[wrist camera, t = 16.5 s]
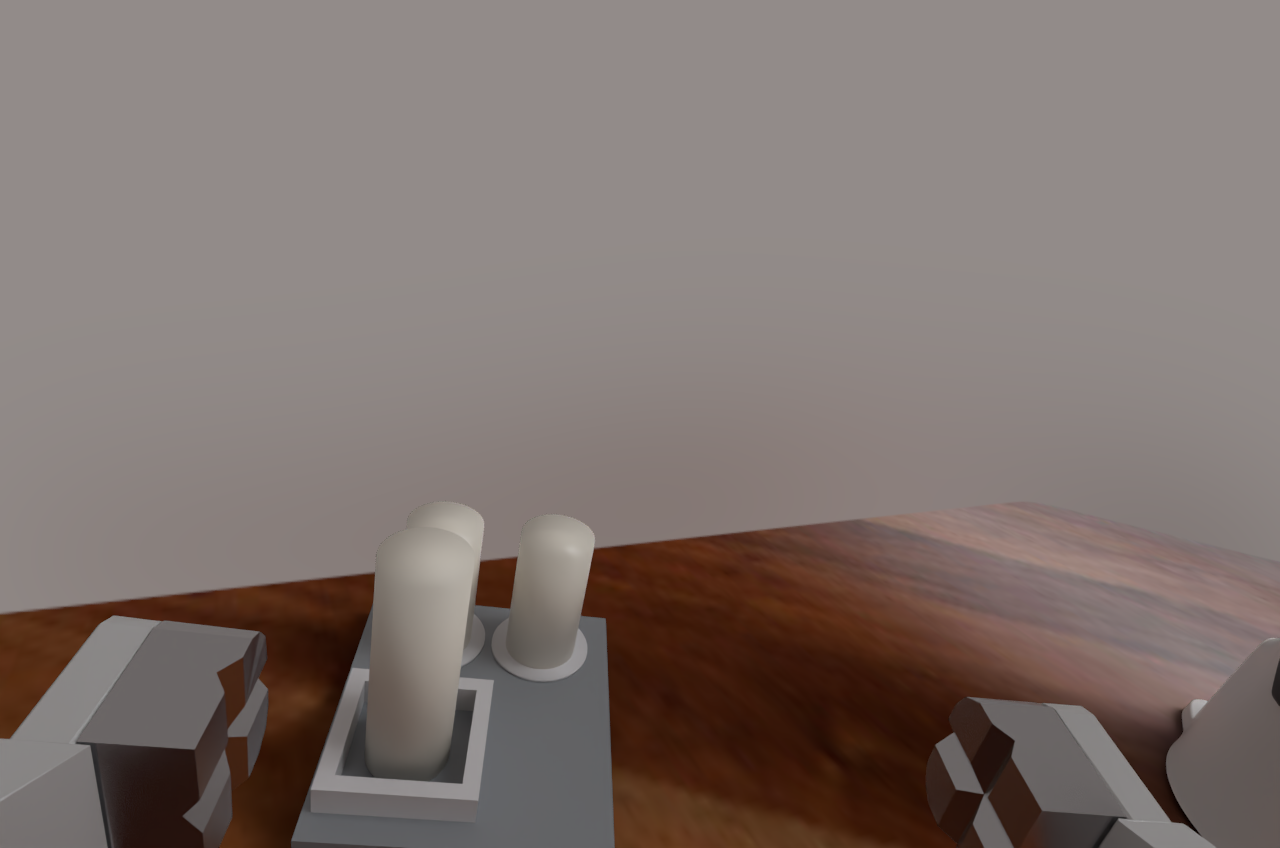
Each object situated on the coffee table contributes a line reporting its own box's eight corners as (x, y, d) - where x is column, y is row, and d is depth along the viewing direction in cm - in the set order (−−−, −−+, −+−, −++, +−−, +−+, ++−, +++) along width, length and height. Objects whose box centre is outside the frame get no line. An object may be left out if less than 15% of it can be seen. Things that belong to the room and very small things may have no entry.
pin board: (601, 636, 51) (628, 513, 47) (609, 880, 37) (648, 735, 33) (375, 614, 49) (381, 483, 45) (291, 863, 35) (288, 705, 31)
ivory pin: (454, 721, 41) (479, 532, 36) (444, 789, 38) (469, 592, 32) (374, 715, 41) (386, 522, 35) (355, 784, 37) (366, 581, 32)
